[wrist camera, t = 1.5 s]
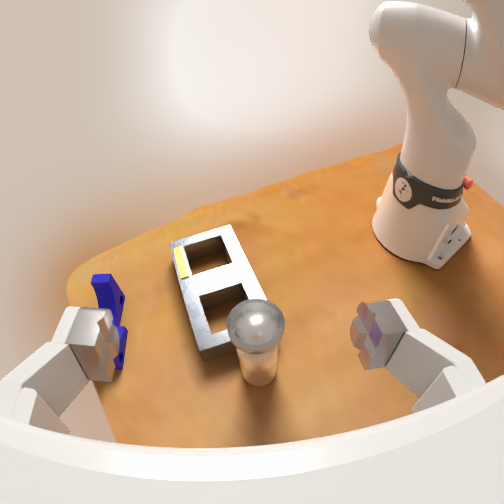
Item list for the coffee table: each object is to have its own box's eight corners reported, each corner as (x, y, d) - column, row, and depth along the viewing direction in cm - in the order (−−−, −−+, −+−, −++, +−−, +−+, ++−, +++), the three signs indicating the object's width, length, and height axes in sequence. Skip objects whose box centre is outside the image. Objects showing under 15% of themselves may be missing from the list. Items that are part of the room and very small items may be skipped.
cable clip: (123, 369, 36) (103, 352, 31) (95, 367, 36) (74, 350, 31) (134, 296, 44) (119, 272, 39) (109, 297, 43) (93, 274, 39)
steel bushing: (270, 347, 37) (271, 291, 28) (285, 380, 34) (293, 336, 24) (233, 360, 36) (219, 308, 27) (247, 395, 33) (237, 357, 23)
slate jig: (232, 239, 50) (230, 223, 47) (277, 336, 38) (278, 323, 36) (174, 257, 48) (168, 241, 45) (204, 361, 36) (199, 350, 34)
